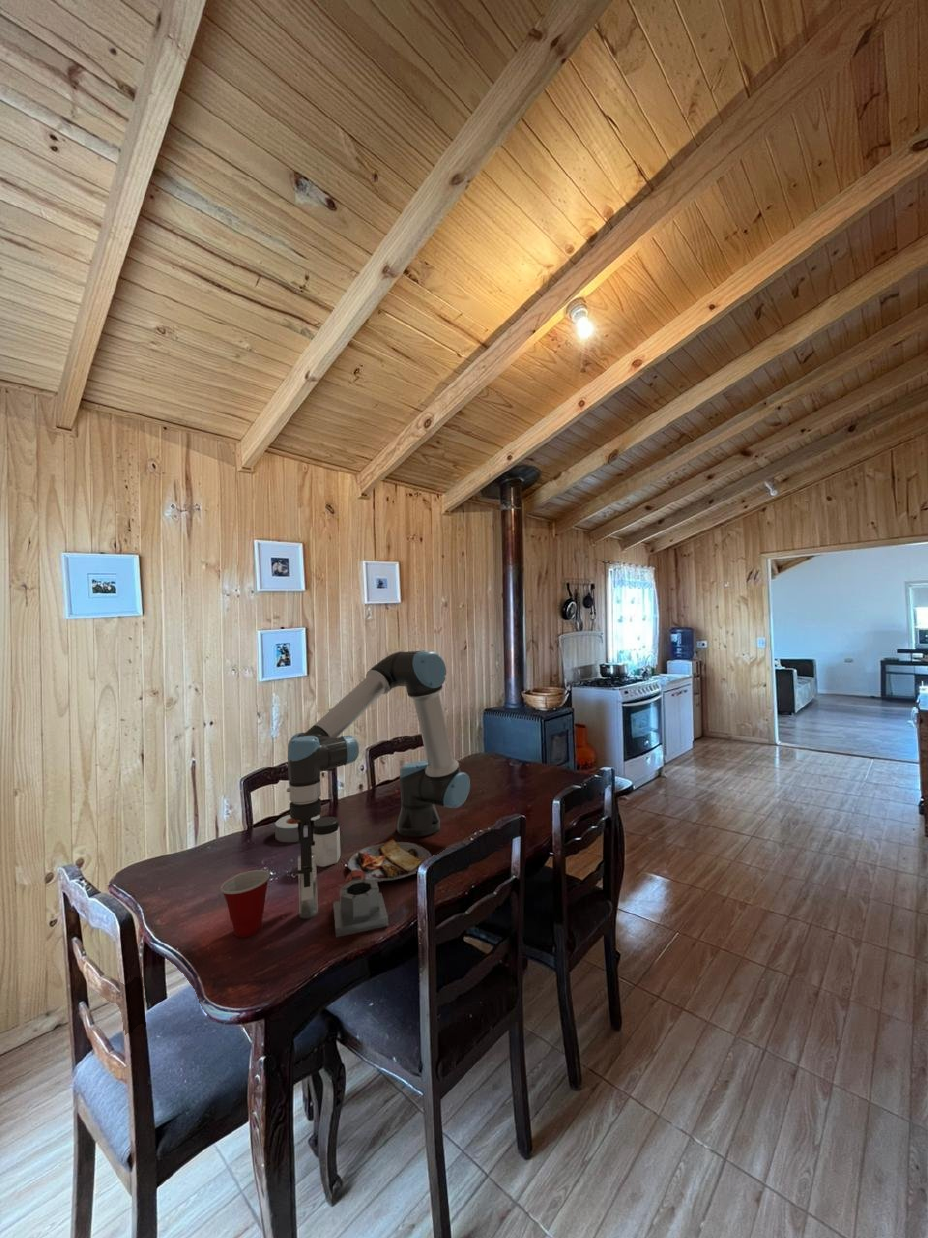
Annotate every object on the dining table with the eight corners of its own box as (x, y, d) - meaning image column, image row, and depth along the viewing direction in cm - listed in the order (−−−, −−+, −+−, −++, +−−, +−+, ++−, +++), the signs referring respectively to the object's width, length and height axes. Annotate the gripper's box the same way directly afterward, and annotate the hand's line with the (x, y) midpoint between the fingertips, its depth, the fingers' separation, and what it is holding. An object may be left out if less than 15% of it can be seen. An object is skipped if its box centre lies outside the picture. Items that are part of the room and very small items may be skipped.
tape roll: (265, 841, 169) (265, 826, 169) (293, 824, 183) (292, 810, 183) (303, 844, 164) (303, 829, 164) (328, 827, 179) (328, 813, 179)
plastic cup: (240, 916, 122) (239, 867, 122) (280, 918, 120) (278, 868, 120) (211, 943, 111) (209, 889, 111) (254, 946, 109) (252, 891, 110)
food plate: (336, 862, 149) (336, 851, 149) (403, 841, 162) (403, 831, 163) (372, 898, 129) (372, 884, 129) (445, 870, 142) (444, 858, 142)
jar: (315, 869, 145) (314, 829, 145) (308, 860, 151) (306, 821, 152) (344, 861, 150) (343, 821, 150) (336, 852, 156) (334, 814, 157)
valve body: (379, 892, 130) (378, 865, 130) (388, 926, 114) (387, 895, 115) (333, 901, 126) (332, 874, 127) (335, 937, 111) (334, 906, 111)
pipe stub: (317, 907, 124) (316, 851, 125) (318, 916, 120) (316, 858, 121) (299, 910, 123) (297, 854, 123) (299, 920, 119) (297, 861, 119)
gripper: (291, 787, 133) (293, 866, 132) (286, 818, 110) (289, 915, 109) (319, 784, 136) (322, 861, 135) (321, 813, 112) (324, 908, 111)
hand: (307, 885), depth 122 cm, fingers open, 13 cm apart
